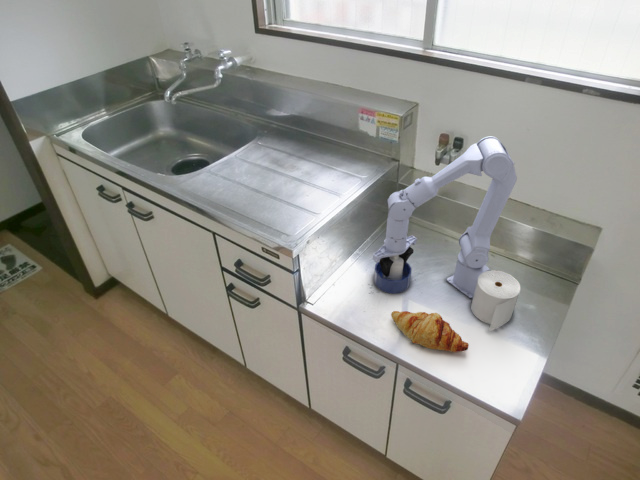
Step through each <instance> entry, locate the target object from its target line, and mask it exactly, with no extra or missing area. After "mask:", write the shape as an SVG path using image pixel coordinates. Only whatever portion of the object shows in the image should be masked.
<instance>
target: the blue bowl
mask: <svg viewBox="0 0 640 480" xmlns="http://www.w3.org/2000/svg"><path fill="white" fill-rule="evenodd" d="M412 270H413V269H412V267H411V264H410V263H408V262H406V264H405V266H404V268H403V272H402V279H401V280H388V279H386V278H383V277H382V276H383V273H382V269H381V266H380V263H379V262H378V263H377V262H375V265H374V272H373V273H374V274H373V283H374V285H375V286H376V288H378V290H380V291H382V292H384V293H387V294H399V293H404V292H405V291H407V290H408V288H409V287H410V285H411V281H412V279H411V278H412Z"/></svg>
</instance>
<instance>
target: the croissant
mask: <svg viewBox="0 0 640 480" xmlns="http://www.w3.org/2000/svg"><path fill="white" fill-rule="evenodd" d="M390 317H391V319H392V320H393V322H394V323H395V325H396V327H397V328H398V330H400V332H401V333H402V334H404V336H405V337H407V338H408V339H409V340H410V341H411V342H412V343H413V344H417V345H420V346H422V347H424V348H427V349H430V350H439V351H446V352H451V353H460V352H465V351H467V350H469V346H470V345H469V343H468V342H466V341H464V340H463V339H462V336H461V335H460V334H459V333H457V332H456V331H455V330H454V329H453V328H452V327H451V324H450V323H449V322H448V321H445V320H444V319H443V317H442V316H441V314H440V313H438V312H430V313H428V312H426V311H417V312H411V311H409V310H403V311H399V310H393V311H391V314H390Z"/></svg>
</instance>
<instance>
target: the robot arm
mask: <svg viewBox="0 0 640 480" xmlns="http://www.w3.org/2000/svg"><path fill="white" fill-rule="evenodd" d="M482 172H483V173H484V174H485V175H486V176H487V177H489V178H491V181H490V184H489V186H488V188H487V191H486V193H485V196H484V197H483V200H482V202H481V205H480V207H479V209H478V211H477V214H476V216H475V218H474V221H473V222H472V225H471V226H468V227H467V228H466V230H465V232H464V233H462V234H461V235H460V236H459V237H458V244H459V246H460V250H459V253H458V254H457V258H456V264H455V268H454V272H453V274H452V275H451V276H449V277H447V278H446V282H448V283H449V284H450V285H452V286H453V287H454V288H455V289H457V290H458V291H459V292H461V293H462V294H463V295H465V296H466V297H468V298H469V299H473V296H474V292H475V289H476V284H477V280H478V277H479V276H480V275H481V274H482V273H484V272H486V271H492V269H490V267H488V265H487V264H488V262H489V260H490V259H489V258H490V257H489V252H490V250H491V236H492V234H493V231H494V229H495V227H496V226H497V223H498V221H499V219H500V217H501V215H502V212H503V210H504V209H505V206H506V204H507V202H508V200H509V198H510V197H511V196H510V195H511V194H512V192H513V190H514V188H515V186H516V183H517V180H518V176H517V172H516V168H515V162H514V160H513V159H512V157H511V155H510V154H509V152H508V150H507V147H506V146H505V145H504V144H503V142H502V141H501V140H500V139H499V138H497V137H496V136H492V135H489V136H485V137H482V138H481V139H480V140H478V141H477V142H475V143H473V144H471V145H470V146H469V147H468V148H467V150H466V151H464V153H462V154H461V155H460V156H459V157H457V158H455V159H454V160H453V161H451V162H450V163H449V164H448V165H446V166H445V167H443V168H442V169H440V170H439V171H438V172H437V173H435V174H434V175H432V176H422V177H421V178H419V177H418V178H416V179H415V180H414V182H413V183H412V184H410V185H409V186H407V187H406V188H404V189H401V190H399V191H398V190H397V191H394V192H392V193H391V194H390V195H389V196H388V198H387V199H386V202H387V206H388V212H387V219H386V229H385V230H386V231H385V239H384V240H383V243H384V244H382V246H381V247H380V248H379V249H378V250H377V251H375V252H373V253H372V260H373V261H374V262H375V263H378V262H379V263H380V266H381V269H382V273H383V274H384V275H385V276H386V277H388V276H389V274H390V268H391V266H392V264H393V261H392V260H391V259H390V256H395V255H399V257H401V258H402V259H403V260H404V263H403V268H404V266H405V264H406V262H407V261H408V260H409V258H410V257H411V256H412V255H413V254H414V248H412V245H413V246H415V245H417V242H418V241H417V240H418V238H417V237H415V236H414V235H410V236H408V232H409V223H410V218H411V217H412V215H413V213H414V211H416V209H417V208H419V207H420V206H422V205H423V204H425V203H427V202H428V201H430V200H432V199H433V198H435V197H437V195H438V192H439V190H440V189H441V188H442V187H445V186H447V185H449V184H450V183H452V182H454V181H455V180H458V179H460V178H461V177H463V176H465V175H467V174H470V175H474V176H478V177H482V176H483V173H482ZM407 263H408V262H407Z"/></svg>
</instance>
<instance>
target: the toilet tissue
mask: <svg viewBox="0 0 640 480" xmlns="http://www.w3.org/2000/svg"><path fill="white" fill-rule="evenodd" d="M520 293H521V284H520V282H519V281H518V279H516V278H515V277H514V276H513V275H511V274H510V273H507V272H506V271H505V272H504V271H501V270H495V269H493V270H492V269H491V271H486V272H484V273H482V274H481V275H480V276H479V277H478V280H477V284H476V289H475V292H474V296H473V298H472V299H471V304H470V308H471V312H472V314H473V315H474V316H475V317H476V319H477V320H479V321H481V322H483V323H485V324H489V329H488V332H489V331H494V330H496V329H498V328H501V327H502V326H503V325H506V324H507V323H508V322H509V321H510V320H511V319H512V316H513V313H514V310H515V307H516V305H517V301H518V299H519V296H520Z"/></svg>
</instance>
